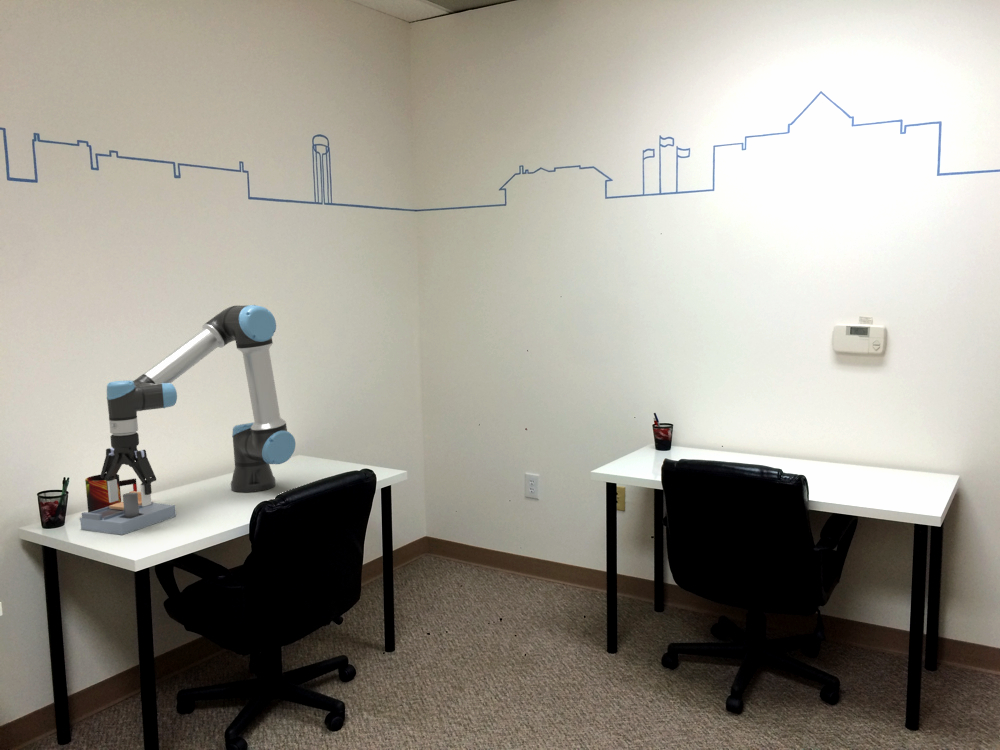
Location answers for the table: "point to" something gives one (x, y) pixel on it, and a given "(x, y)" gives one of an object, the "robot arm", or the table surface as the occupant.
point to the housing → (118, 524)
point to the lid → (121, 506)
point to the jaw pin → (130, 505)
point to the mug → (103, 491)
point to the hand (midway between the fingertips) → (130, 503)
